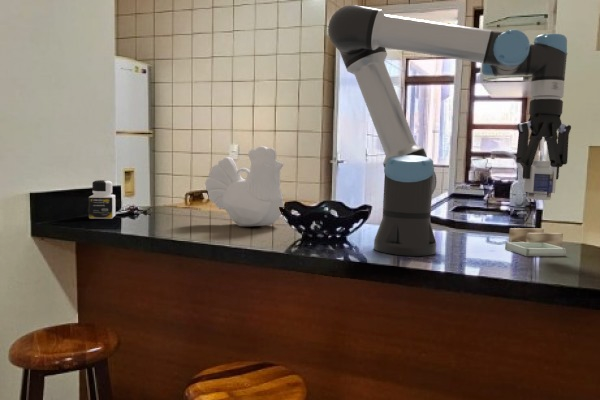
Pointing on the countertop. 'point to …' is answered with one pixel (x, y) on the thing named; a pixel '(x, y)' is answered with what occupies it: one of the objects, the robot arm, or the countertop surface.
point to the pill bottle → (542, 181)
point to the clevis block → (535, 236)
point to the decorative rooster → (248, 188)
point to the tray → (535, 249)
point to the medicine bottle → (102, 200)
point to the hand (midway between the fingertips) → (539, 192)
